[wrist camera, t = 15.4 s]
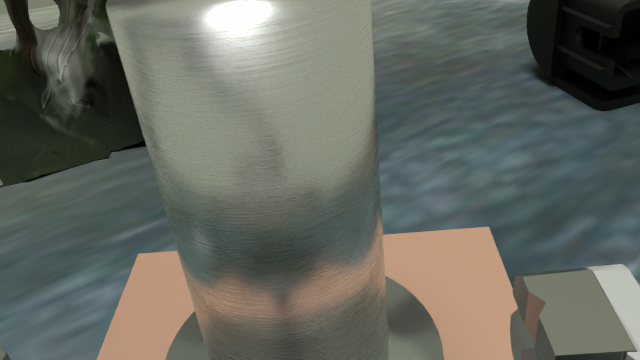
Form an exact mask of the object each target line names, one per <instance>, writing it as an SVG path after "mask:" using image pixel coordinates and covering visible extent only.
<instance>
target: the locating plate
mask: <svg viewBox="0 0 640 360" xmlns="http://www.w3.org/2000/svg"><path fill="white" fill-rule="evenodd" d="M383 246H384V264H385V276H387V277H389V278H391V279H393V280H394V281H396V282H397V283H399V284H401V285H402V286H404V287H405V288H406V289H407V290H408V291H410V292H411V293H412V294H413V295H414V296H415V297H416V298H417V299H418V300H419V301H420V302H421V303H422V304H423V305H424V307H425V308H426V310H427V311H428V313H429V314H430V315H431V317H432V319H433V321H434V323H435V325H436V327H437V329H438V332H439V335H440V339H441V342H442V347H443V355H444V360H514V358H513V354H512V350H511V339H510V319H511V315H512V314H513V313H514V312H515V311H516V310H517V309H518V307H517V304H516V301H515V299H514V296H513V289H512V287H511V284H510V281H509V279H508V276H507V273H506V271H505V268H504V266H503V263H502V260H501V258H500V255H499V252H498V250H497V247H496V244H495V242H494V239H493V237H492V234H491V231H490V229H489V227H479V228H466V229H453V230H440V231H427V232H414V233H401V234H389V235H383ZM194 311H195V309H194V306H193V303H192V299H191V296H190V292H189V289H188V286H187V282H186V279H185V275H184V272H183V269H182V265H181V262H180V259H179V255H178V252H177V251H169V252H156V253H144V254H138V256H137V259H136V261H135V264H134V266H133V269H132V271H131V274H130V276H129V279H128V281H127V284H126V286H125V289H124V292H123V294H122V297H121V299H120V302H119V304H118V307H117V309H116V312H115V314H114V317H113V319H112V322H111V324H110V327H109V329H108V332H107V335H106V337H105V340H104V342H103V345H102V347H101V350H100V352H99V355H98V357H97V360H165V359H166V356H167V353H168V350H169V347H170V345H171V344H172V342H173V340H174V338H175V336H176V334H177V332H178V331H179V330H180V328H181V327H182V325H183V324H184V322H185V321H186V320H187V319H188V318H189V316H190V315H191V314H192V313H193V312H194Z"/></svg>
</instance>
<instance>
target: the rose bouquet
mask: <svg viewBox="0 0 640 360" xmlns="http://www.w3.org/2000/svg"><path fill="white" fill-rule="evenodd" d="M54 1H55V3H56V4H57V5H58V7H59V10H60V17H59V23H58V26H57V27H55V28H52V29H50V30H41V29H38V28H36V27H35V26H34V25H33V24H32V22H31V21H30V19H29V14H28V1H27V0H4V2H5V4H6V7H7V10H8V13H9V17H10V19H11V21H12V23H13V25H14V27H15V29H16V45H15V47H14V48H13V50H3V51H2V50H0V179H1V181H2V182H3V185H1V186H0V187H3V186H7V185H12V184H16V183H20V182H23V181H29V180H32V179H35V178H37V177H40V176H43V175H47V174H50V173H53V172H57V171H60V170H63V169H67V168H70V167H74V166H77V165H81V164H84V163H88V162H91V161H95V160H100V159H106V158H111V157H107V156H108V155H109V154H110V152H111V151H112V150H120V149H122V148H124V147H127V146H130V145H133V144H136V143H139V142H142V141H145V140H144V136H143V133H142V129H141V126H140V123H139V119H138V116H137V112H136V109H135V106H134V102H133V99H132V95H131V92H130V89H129V85H128V82H127V79H126V75H125V72H124V68H123V65H122V62H121V58H120V55H119V51H118V48H117V45H116V41H115V38H114V34H113V31H112V28H111V24H110V21H109V17H108V14H107V11H106V3H107V0H54ZM106 120H107V121H106ZM105 122H106V123H105ZM103 123H105V124H103Z"/></svg>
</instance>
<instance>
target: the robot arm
mask: <svg viewBox="0 0 640 360" xmlns="http://www.w3.org/2000/svg"><path fill="white" fill-rule="evenodd" d="M513 296H514V299H515V301H516V304H517V307H518V309H517V310H516V311H515V312H514V313H513V314H512V315H511V319H510V339H511V350H512V354H513V358H514V360H640V285H639V284H638V282H637V281H636V279H635V278H634V276H633V275H632V273H631V272H630V270H629V269H628V268H627V267H625V266H624V265H622V264H617V265H606V266H595V267H586V268H577V269H565V270H553V271H542V272H530V273H518V274H516V277H515V279H514V285H513ZM0 360H10V358H9V356H8V354H7V352H5V351H4V350H2V349H0Z"/></svg>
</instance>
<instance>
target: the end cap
mask: <svg viewBox="0 0 640 360" xmlns="http://www.w3.org/2000/svg"><path fill="white" fill-rule="evenodd" d="M527 35H528V40H529V44H530V47H531V51H532V53H533V55H534V58H535V60H536V62H537V63H538V65H539V66H540V68H541V69H542V70H543V71H544V72H545V73H546V74H547V75H548V76H549V78H550V80H551V81H552V82H553V83H554V84H555V85H556V86H557V87H558V88H560V89H562V90H563V91H565V92H567V93H568V94H570V95H572V96H573V97H575V98H577V99H578V100H580V101H582V102H583V103H585V104H587V105H588V106H590V107H592V108H593V109H596V110H600V111H609V110H613V109H617V108H621V107H625V106H629V105H633V104H637V103H640V0H530V2H529V6H528V12H527Z"/></svg>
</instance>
